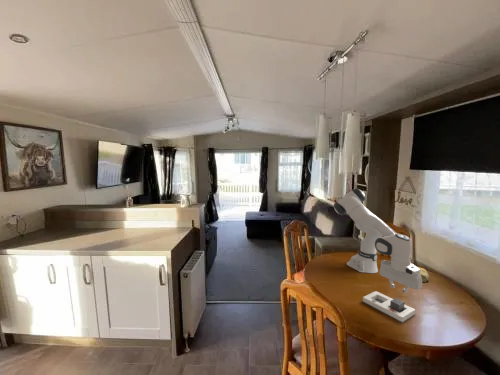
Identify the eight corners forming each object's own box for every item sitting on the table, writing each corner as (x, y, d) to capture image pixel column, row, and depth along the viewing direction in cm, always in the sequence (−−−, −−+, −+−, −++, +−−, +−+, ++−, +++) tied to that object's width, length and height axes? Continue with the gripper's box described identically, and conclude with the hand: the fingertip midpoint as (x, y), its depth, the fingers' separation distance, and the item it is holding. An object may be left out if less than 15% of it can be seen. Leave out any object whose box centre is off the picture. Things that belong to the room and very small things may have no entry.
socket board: (362, 301, 142) (363, 296, 142) (375, 295, 149) (375, 290, 148) (402, 323, 123) (402, 316, 123) (415, 314, 130) (415, 308, 130)
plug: (389, 311, 132) (390, 300, 132) (395, 308, 135) (396, 297, 134) (398, 315, 128) (399, 305, 128) (403, 312, 131) (404, 301, 131)
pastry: (418, 273, 179) (419, 263, 178) (434, 281, 167) (435, 270, 166) (402, 275, 176) (403, 264, 175) (417, 283, 164) (418, 272, 163)
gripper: (377, 259, 136) (376, 283, 138) (418, 273, 119) (416, 300, 120) (384, 257, 139) (382, 280, 141) (424, 270, 122) (422, 296, 123)
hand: (398, 289), depth 130 cm, fingers open, 5 cm apart
